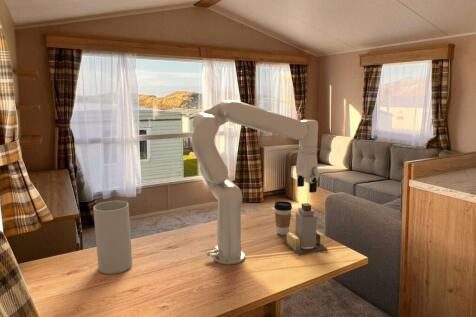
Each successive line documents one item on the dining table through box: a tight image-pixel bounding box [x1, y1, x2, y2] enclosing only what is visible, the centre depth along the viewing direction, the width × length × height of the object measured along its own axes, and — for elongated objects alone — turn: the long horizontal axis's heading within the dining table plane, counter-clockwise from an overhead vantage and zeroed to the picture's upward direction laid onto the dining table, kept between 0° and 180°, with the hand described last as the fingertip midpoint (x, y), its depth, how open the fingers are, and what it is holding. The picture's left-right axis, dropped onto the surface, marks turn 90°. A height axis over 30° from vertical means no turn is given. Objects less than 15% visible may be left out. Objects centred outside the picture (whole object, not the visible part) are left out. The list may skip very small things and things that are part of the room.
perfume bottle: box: [294, 202, 318, 248], centre depth 155 cm, size 7×7×18 cm
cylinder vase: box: [92, 200, 133, 275], centre depth 137 cm, size 12×12×25 cm
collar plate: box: [283, 229, 328, 256], centre depth 156 cm, size 14×13×6 cm
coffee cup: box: [274, 200, 293, 236], centre depth 171 cm, size 8×8×15 cm
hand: (306, 189), depth 152 cm, fingers open, 9 cm apart
